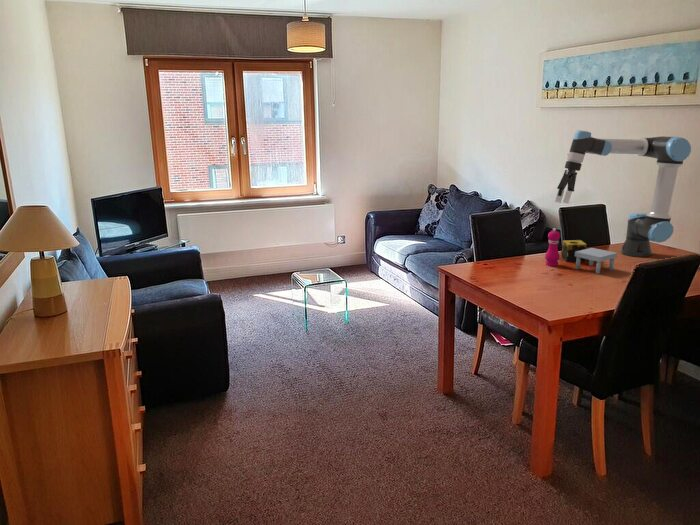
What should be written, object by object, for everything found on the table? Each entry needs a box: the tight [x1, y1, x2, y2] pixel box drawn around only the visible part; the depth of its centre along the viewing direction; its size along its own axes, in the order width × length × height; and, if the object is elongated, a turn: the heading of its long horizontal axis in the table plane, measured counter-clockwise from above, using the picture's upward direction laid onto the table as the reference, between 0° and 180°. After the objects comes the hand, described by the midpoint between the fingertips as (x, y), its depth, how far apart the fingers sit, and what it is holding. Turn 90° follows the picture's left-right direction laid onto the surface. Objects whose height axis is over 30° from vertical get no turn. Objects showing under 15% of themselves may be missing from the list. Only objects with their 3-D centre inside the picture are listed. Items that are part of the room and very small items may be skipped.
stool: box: [575, 247, 618, 275], centre depth 263 cm, size 14×14×9 cm
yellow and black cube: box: [561, 239, 587, 263], centre depth 282 cm, size 10×10×10 cm
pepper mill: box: [544, 227, 561, 267], centre depth 271 cm, size 7×7×20 cm
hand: (561, 202), depth 266 cm, fingers open, 13 cm apart
